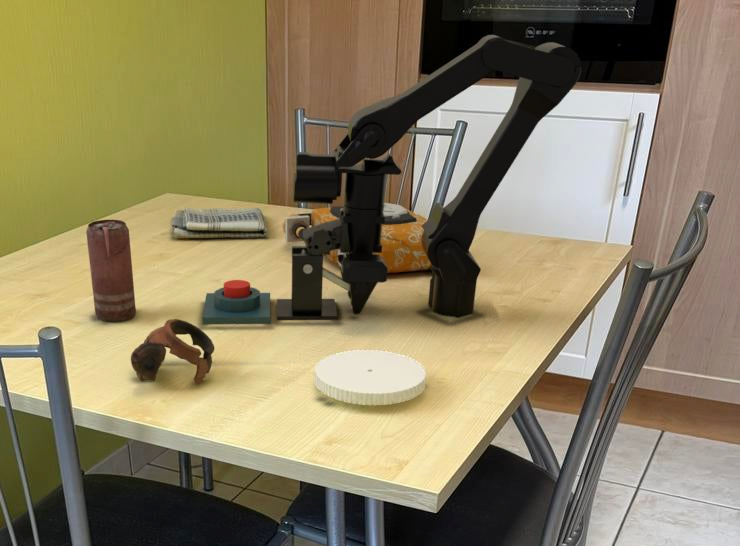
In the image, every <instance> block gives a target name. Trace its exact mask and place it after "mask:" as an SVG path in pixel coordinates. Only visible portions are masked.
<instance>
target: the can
mask: <svg viewBox="0 0 740 546" xmlns="http://www.w3.org/2000/svg"><path fill="white" fill-rule="evenodd" d="M85 232H86V243H87V251H88V260H89V267H90V268H89V269H90V278H91V287H92V296H93V305H94V314H95V316H96V318H97V319H98V320H99V321H101V322H105V323H121V322H122V323H123V322H127V321H129V320H132V319H133V318H134V317H135V315H136V313H137V309H136V297H135V287H134V284H135V283H134V273H133V263H132V261H133V260H132V251H131V239H130V229H129V228H128V226H127V223H126V222H125V221H124V220H119V219H101V220H96V221H92V222H89V223H88V225H87V229H86V230H85Z"/></svg>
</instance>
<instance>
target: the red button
mask: <svg viewBox="0 0 740 546" xmlns="http://www.w3.org/2000/svg"><path fill="white" fill-rule="evenodd" d="M250 287H251V283H250V282H249V281H248V280H245V279H231V280H228V281H225V282H224V283H223V288H224V296H225V297H229V298H244V297H248V296H250Z"/></svg>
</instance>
